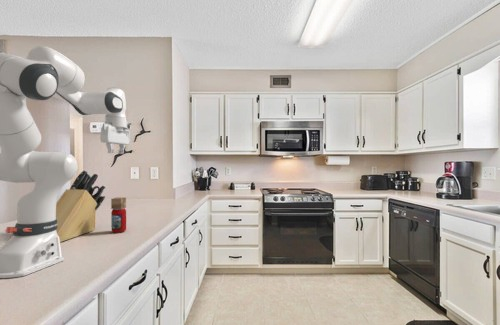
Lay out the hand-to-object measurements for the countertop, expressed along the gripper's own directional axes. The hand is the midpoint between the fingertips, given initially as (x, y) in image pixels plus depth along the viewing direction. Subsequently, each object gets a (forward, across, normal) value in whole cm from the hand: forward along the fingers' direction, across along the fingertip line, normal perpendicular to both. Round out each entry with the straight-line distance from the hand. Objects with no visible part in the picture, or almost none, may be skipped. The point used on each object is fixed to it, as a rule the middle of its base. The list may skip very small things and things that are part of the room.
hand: (116, 153), depth 132 cm
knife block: (+39, +5, +24) cm, 46 cm away
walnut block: (+27, +10, +4) cm, 29 cm away
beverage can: (+39, +10, +4) cm, 41 cm away
